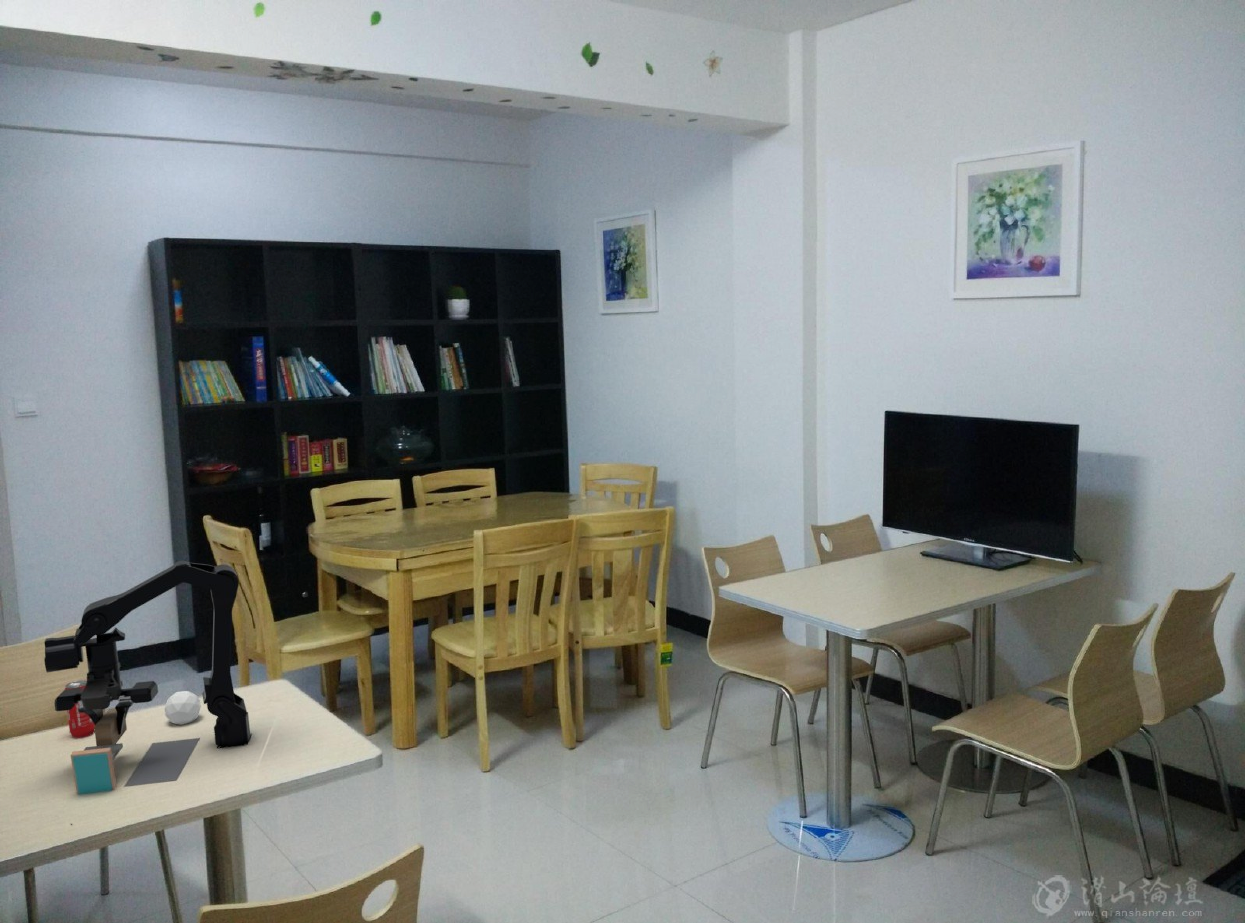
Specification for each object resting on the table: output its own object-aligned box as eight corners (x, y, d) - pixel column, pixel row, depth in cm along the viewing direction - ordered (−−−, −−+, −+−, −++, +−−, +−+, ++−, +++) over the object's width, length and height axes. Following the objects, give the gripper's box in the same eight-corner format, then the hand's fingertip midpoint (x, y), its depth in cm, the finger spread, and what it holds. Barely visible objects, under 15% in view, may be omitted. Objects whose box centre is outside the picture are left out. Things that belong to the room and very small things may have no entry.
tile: (117, 788, 207) (110, 747, 205) (114, 792, 206) (108, 751, 204) (79, 792, 206) (73, 751, 204) (76, 797, 205) (70, 755, 203)
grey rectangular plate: (200, 740, 230) (200, 737, 230) (176, 783, 209) (176, 780, 209) (152, 745, 228) (152, 743, 228) (124, 789, 207) (123, 786, 207)
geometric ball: (183, 731, 243) (186, 698, 247) (207, 723, 240) (209, 689, 244) (155, 726, 237) (158, 692, 241) (179, 717, 234) (182, 683, 238)
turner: (102, 732, 221) (99, 709, 221) (136, 728, 223) (134, 706, 222) (74, 765, 205) (71, 741, 204) (112, 760, 206) (109, 737, 205)
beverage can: (85, 739, 234) (78, 688, 232) (65, 738, 235) (58, 687, 233) (100, 730, 239) (94, 680, 237) (81, 729, 240) (75, 679, 238)
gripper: (40, 681, 205) (49, 755, 208) (139, 671, 209) (148, 745, 211) (60, 663, 216) (69, 734, 219) (154, 654, 219) (162, 724, 222)
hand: (111, 734), depth 217 cm, fingers closed on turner, 3 cm apart
